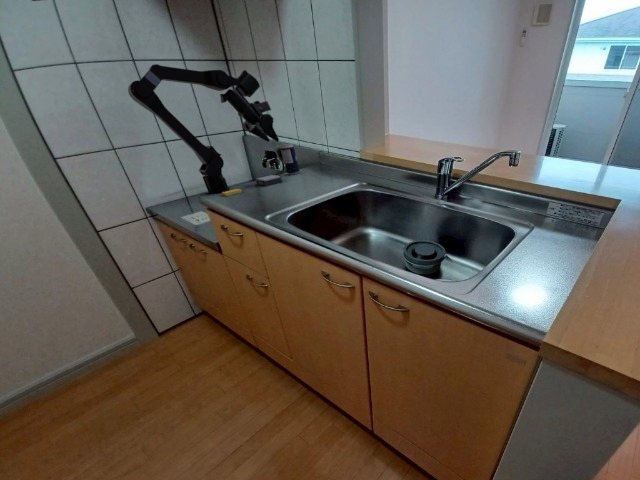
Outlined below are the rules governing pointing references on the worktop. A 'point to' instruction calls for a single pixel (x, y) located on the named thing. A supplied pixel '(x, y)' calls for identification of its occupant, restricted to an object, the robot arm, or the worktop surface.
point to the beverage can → (289, 159)
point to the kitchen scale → (268, 180)
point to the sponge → (231, 192)
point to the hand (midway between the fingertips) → (273, 141)
